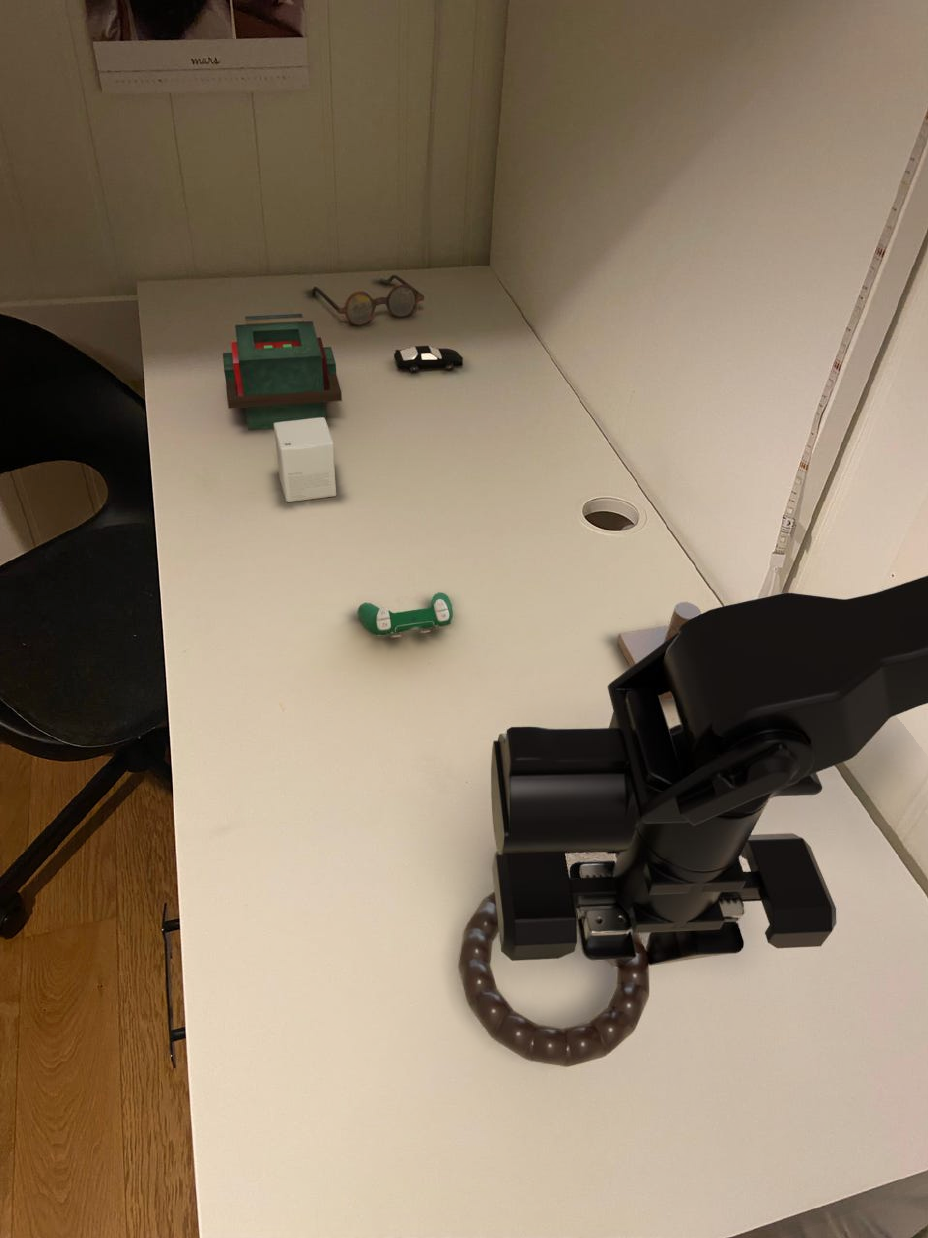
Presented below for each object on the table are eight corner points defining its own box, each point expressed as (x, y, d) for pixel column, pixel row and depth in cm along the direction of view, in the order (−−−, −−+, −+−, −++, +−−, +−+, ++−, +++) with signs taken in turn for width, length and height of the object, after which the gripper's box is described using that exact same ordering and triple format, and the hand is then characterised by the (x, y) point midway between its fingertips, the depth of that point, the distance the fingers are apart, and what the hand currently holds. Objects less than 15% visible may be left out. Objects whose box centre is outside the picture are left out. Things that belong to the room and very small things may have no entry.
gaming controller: (361, 641, 84) (368, 641, 78) (355, 604, 84) (362, 601, 78) (450, 628, 86) (463, 627, 80) (444, 591, 86) (457, 588, 80)
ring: (604, 868, 59) (609, 853, 58) (677, 1042, 51) (684, 1029, 50) (440, 905, 57) (440, 890, 56) (487, 1093, 49) (490, 1081, 47)
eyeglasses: (340, 329, 132) (339, 297, 128) (306, 293, 141) (303, 262, 137) (424, 314, 137) (424, 283, 134) (385, 280, 146) (385, 251, 143)
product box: (337, 497, 99) (334, 443, 94) (285, 504, 97) (279, 449, 92) (328, 469, 103) (325, 416, 98) (278, 475, 102) (272, 421, 97)
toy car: (459, 357, 127) (460, 340, 125) (465, 370, 124) (466, 353, 122) (393, 361, 124) (393, 344, 123) (398, 374, 122) (398, 357, 120)
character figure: (339, 313, 120) (360, 381, 106) (295, 390, 126) (309, 463, 112) (247, 263, 112) (257, 328, 98) (205, 347, 118) (208, 420, 104)
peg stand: (689, 631, 85) (707, 577, 80) (726, 688, 80) (747, 634, 75) (616, 641, 84) (630, 587, 79) (648, 701, 78) (665, 647, 73)
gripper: (806, 700, 50) (734, 843, 60) (493, 706, 48) (476, 852, 59) (888, 869, 42) (788, 1000, 52) (516, 884, 40) (491, 1015, 51)
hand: (631, 958), depth 54 cm, fingers closed on ring, 2 cm apart
